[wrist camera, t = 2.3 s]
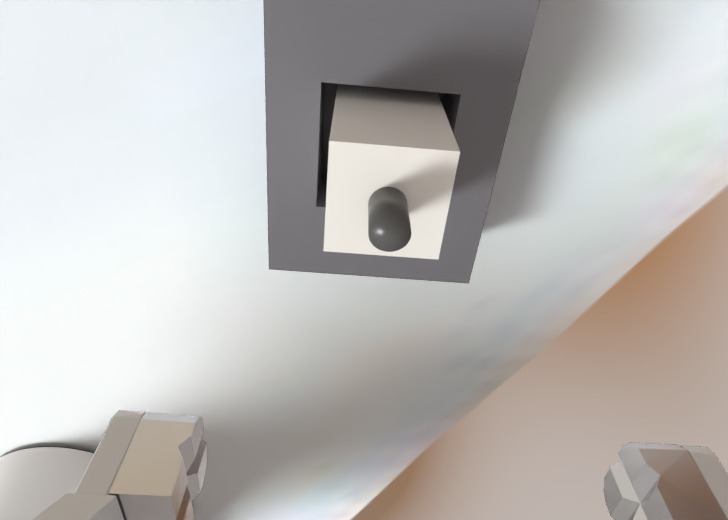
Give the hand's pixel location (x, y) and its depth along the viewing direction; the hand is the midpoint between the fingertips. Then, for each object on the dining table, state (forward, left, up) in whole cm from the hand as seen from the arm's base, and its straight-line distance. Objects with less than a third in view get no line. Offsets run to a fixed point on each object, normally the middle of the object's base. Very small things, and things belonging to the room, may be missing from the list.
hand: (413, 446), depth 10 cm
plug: (0, 0, -18) cm, 18 cm away
